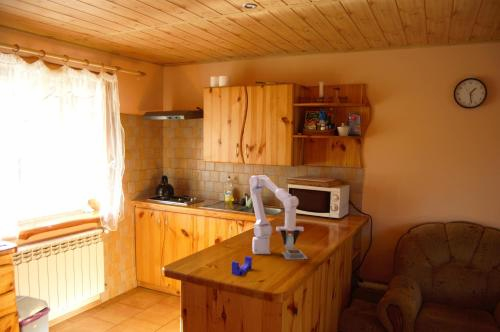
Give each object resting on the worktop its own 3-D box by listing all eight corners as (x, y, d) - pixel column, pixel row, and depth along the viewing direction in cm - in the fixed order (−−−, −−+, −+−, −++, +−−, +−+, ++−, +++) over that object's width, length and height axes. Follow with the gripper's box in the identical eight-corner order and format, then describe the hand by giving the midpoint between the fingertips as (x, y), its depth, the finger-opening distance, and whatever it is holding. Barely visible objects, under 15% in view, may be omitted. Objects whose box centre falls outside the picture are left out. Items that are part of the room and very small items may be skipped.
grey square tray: (286, 259, 211) (286, 255, 211) (281, 253, 223) (281, 248, 223) (307, 259, 213) (308, 254, 213) (301, 252, 225) (302, 248, 225)
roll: (285, 249, 208) (286, 236, 207) (284, 246, 212) (284, 233, 212) (294, 249, 208) (294, 236, 208) (292, 246, 213) (292, 233, 212)
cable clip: (238, 276, 185) (239, 263, 185) (231, 274, 188) (231, 261, 188) (253, 269, 195) (254, 258, 195) (246, 267, 198) (247, 256, 197)
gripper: (278, 220, 204) (277, 246, 205) (305, 220, 206) (304, 246, 207) (275, 217, 211) (274, 242, 212) (302, 217, 213) (301, 242, 214)
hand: (289, 244), depth 210 cm, fingers closed on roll, 4 cm apart
